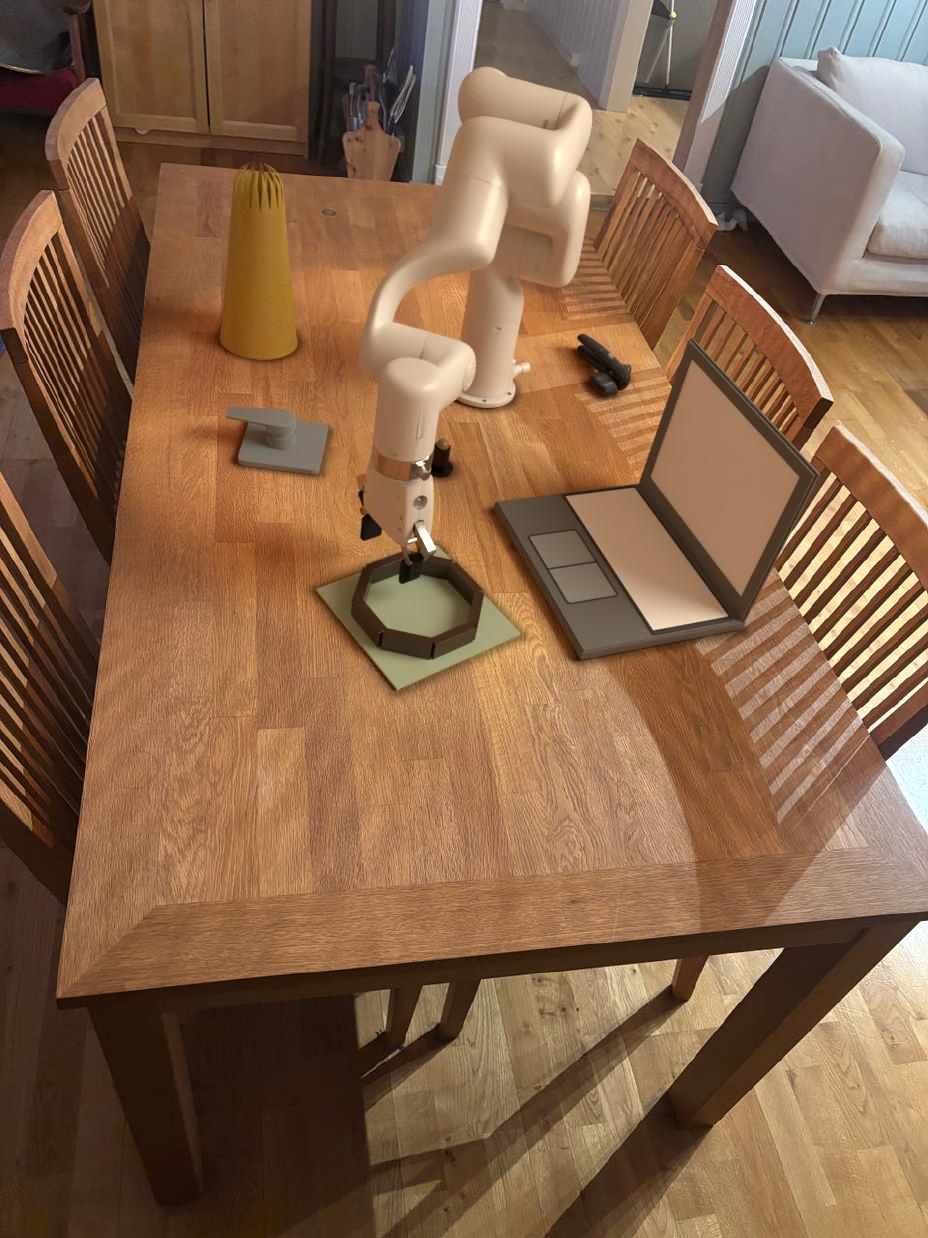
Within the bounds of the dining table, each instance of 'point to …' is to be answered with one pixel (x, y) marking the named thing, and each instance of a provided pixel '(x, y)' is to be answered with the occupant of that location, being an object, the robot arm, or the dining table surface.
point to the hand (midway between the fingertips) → (389, 558)
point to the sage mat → (417, 621)
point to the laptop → (670, 524)
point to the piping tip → (258, 271)
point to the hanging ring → (410, 641)
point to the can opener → (604, 367)
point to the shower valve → (279, 440)
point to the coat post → (441, 459)
